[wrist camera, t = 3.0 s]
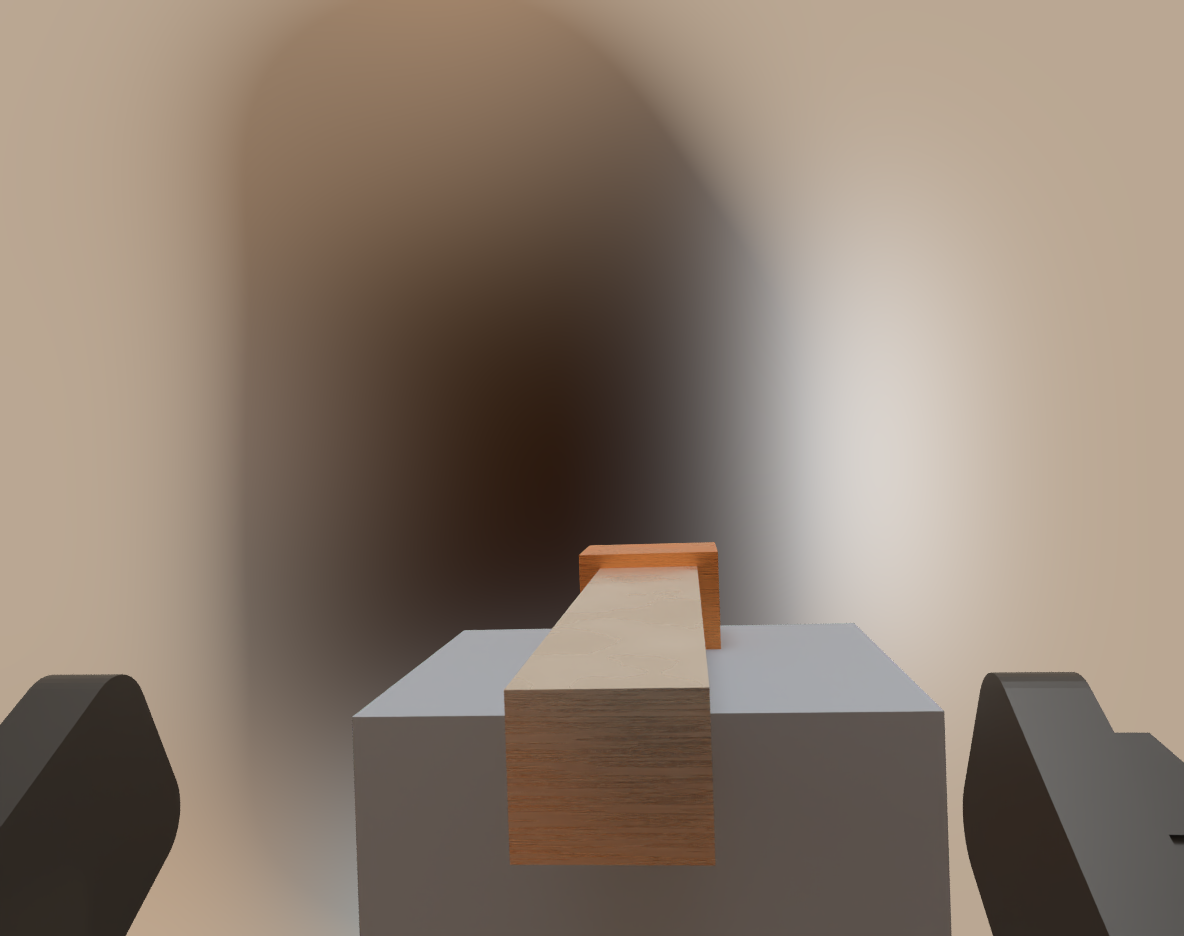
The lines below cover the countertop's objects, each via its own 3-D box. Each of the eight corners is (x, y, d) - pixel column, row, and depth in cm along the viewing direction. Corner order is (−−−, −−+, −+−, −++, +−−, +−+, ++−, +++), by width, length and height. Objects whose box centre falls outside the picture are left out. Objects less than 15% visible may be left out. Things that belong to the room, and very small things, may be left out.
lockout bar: (594, 628, 41) (592, 543, 41) (716, 625, 40) (713, 540, 40) (467, 864, 17) (459, 661, 17) (761, 866, 17) (753, 656, 17)
